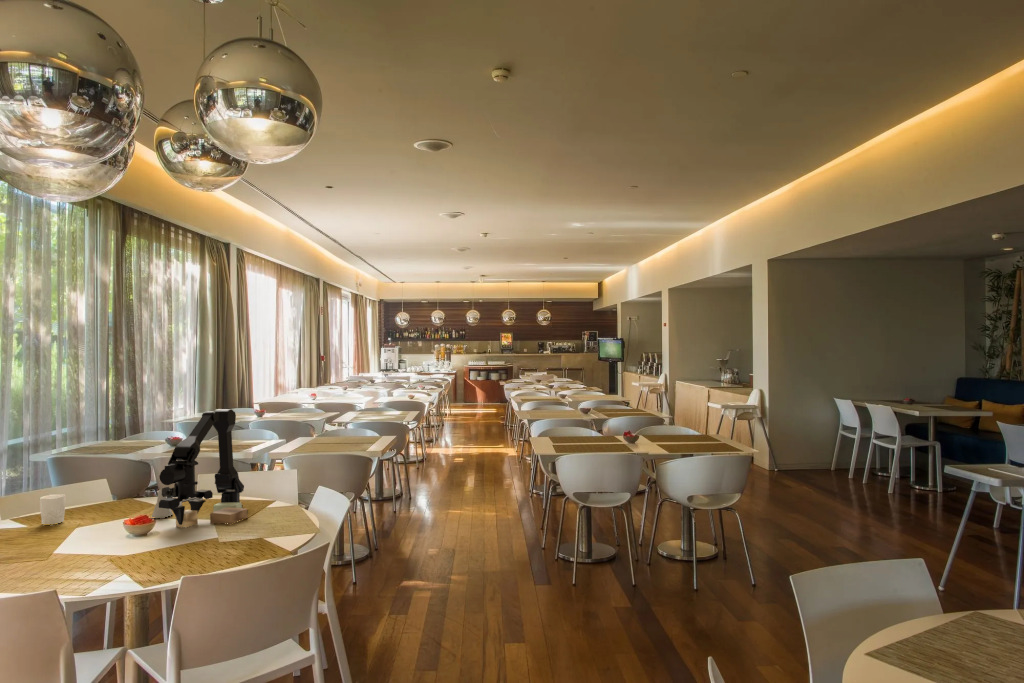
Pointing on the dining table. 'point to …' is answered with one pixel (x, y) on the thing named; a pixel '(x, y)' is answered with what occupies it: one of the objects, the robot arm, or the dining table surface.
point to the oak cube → (189, 518)
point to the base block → (228, 515)
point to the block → (226, 505)
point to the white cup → (52, 508)
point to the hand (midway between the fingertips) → (186, 522)
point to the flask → (161, 511)
